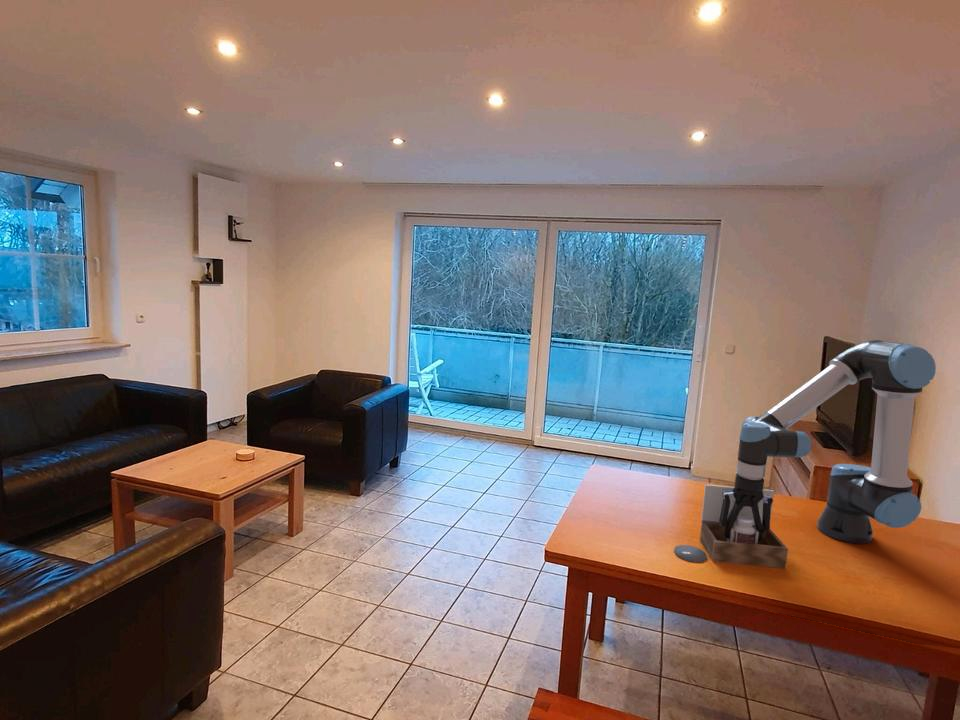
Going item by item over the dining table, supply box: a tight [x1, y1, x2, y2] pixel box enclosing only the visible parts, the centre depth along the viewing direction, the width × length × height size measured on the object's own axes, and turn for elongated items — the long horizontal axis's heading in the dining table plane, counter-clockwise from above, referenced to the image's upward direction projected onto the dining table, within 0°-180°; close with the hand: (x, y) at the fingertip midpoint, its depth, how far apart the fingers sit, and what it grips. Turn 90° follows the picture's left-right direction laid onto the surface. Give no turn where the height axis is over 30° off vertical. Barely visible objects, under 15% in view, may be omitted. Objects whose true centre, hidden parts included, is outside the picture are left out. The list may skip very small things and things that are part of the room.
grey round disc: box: [673, 544, 707, 563], centre depth 158 cm, size 9×9×1 cm
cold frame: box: [699, 522, 789, 569], centre depth 161 cm, size 20×17×12 cm
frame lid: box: [700, 484, 775, 527], centre depth 165 cm, size 20×1×12 cm, turn 83°
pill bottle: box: [733, 516, 755, 544], centre depth 159 cm, size 6×6×11 cm
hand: (741, 549), depth 160 cm, fingers closed on pill bottle, 6 cm apart
